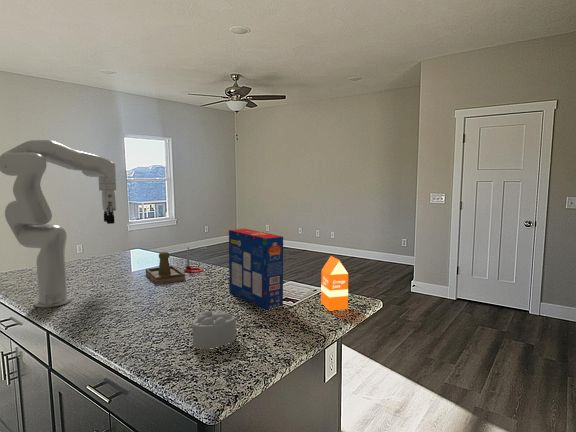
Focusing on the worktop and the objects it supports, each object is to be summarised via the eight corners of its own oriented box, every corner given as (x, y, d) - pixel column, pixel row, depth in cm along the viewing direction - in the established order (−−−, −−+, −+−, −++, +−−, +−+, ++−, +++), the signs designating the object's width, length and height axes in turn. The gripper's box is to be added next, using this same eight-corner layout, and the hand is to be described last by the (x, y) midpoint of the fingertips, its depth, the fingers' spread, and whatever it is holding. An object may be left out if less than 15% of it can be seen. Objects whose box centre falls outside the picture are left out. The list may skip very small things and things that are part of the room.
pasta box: (282, 306, 145) (283, 236, 142) (266, 310, 140) (266, 238, 137) (244, 289, 167) (244, 228, 164) (229, 292, 162) (228, 230, 159)
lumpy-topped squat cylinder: (240, 340, 115) (239, 313, 114) (204, 354, 106) (203, 325, 105) (220, 330, 122) (220, 305, 121) (185, 342, 113) (184, 315, 112)
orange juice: (328, 312, 139) (329, 260, 136) (320, 305, 147) (321, 255, 145) (348, 311, 141) (349, 259, 139) (338, 303, 149) (339, 254, 147)
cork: (166, 271, 190) (166, 250, 189) (173, 273, 186) (172, 252, 185) (155, 273, 185) (155, 252, 184) (162, 276, 181) (161, 254, 180)
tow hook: (205, 270, 203) (190, 268, 205) (206, 247, 201) (190, 245, 203) (198, 274, 194) (182, 272, 197) (198, 250, 193) (183, 248, 195)
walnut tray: (185, 280, 182) (184, 273, 181) (155, 284, 174) (155, 277, 174) (173, 271, 198) (172, 265, 198) (145, 275, 190) (145, 269, 190)
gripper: (119, 187, 173) (120, 223, 174) (113, 186, 187) (114, 220, 189) (101, 187, 168) (103, 225, 170) (96, 187, 183) (98, 221, 185)
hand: (109, 222), depth 179 cm, fingers open, 9 cm apart
